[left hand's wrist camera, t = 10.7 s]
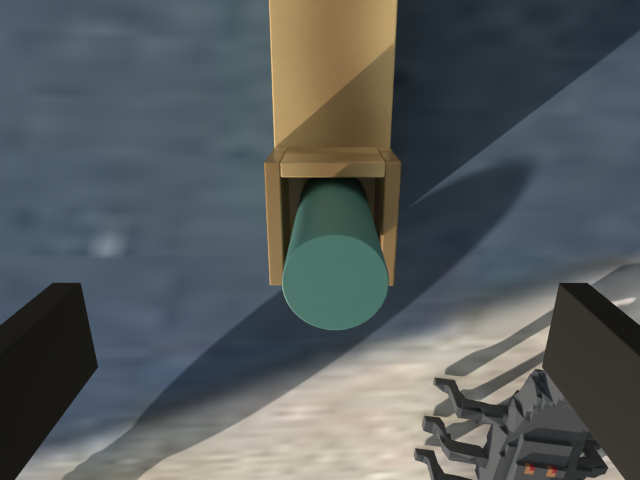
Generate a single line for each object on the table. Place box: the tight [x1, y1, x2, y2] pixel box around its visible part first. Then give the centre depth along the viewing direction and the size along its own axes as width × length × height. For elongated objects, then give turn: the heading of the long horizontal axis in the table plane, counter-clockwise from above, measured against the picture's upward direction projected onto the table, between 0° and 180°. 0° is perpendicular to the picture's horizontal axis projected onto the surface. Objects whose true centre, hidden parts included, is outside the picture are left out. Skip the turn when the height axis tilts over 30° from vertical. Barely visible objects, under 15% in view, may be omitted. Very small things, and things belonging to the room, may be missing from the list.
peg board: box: [264, 0, 401, 286], centre depth 22 cm, size 6×24×8 cm, turn 0°
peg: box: [282, 177, 389, 330], centre depth 20 cm, size 4×4×10 cm
